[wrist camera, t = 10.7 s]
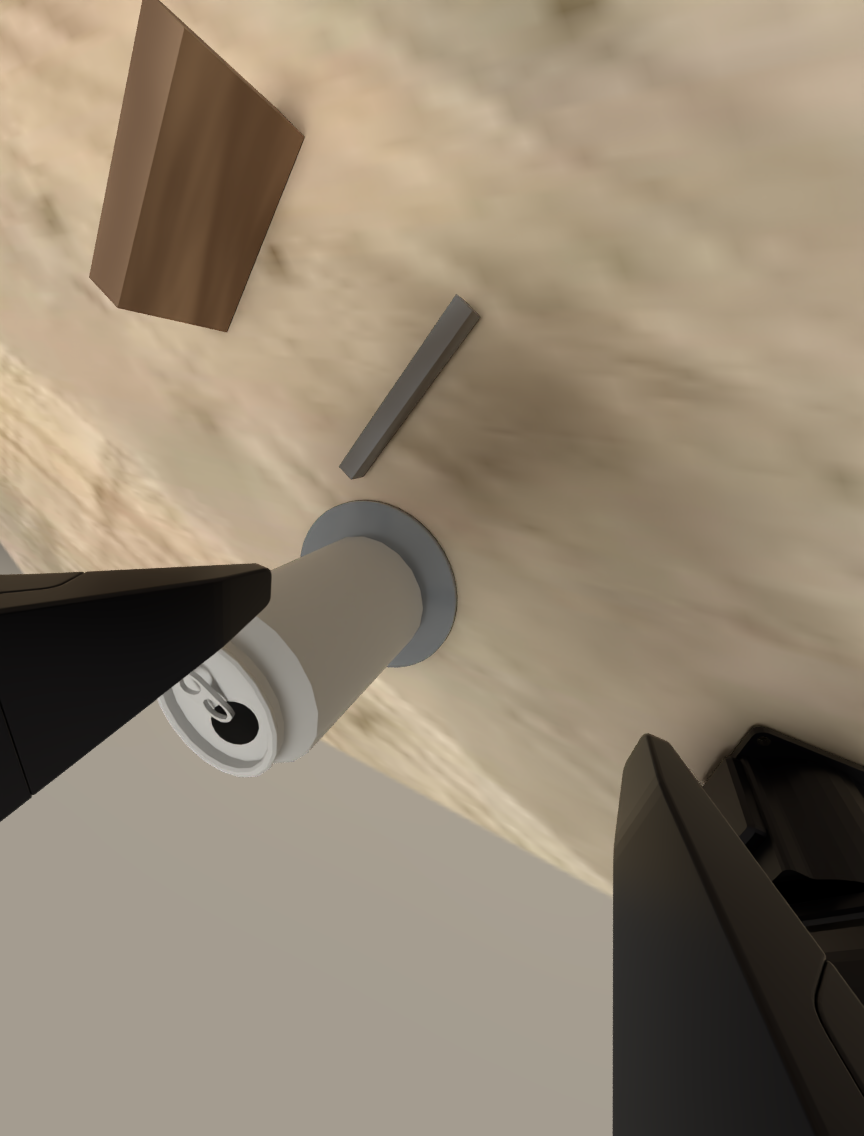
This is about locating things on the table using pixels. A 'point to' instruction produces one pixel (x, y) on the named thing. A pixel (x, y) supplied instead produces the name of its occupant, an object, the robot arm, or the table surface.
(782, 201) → the table surface
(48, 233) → the table surface
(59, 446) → the table surface
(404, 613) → the can
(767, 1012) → the robot arm
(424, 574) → the coaster
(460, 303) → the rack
